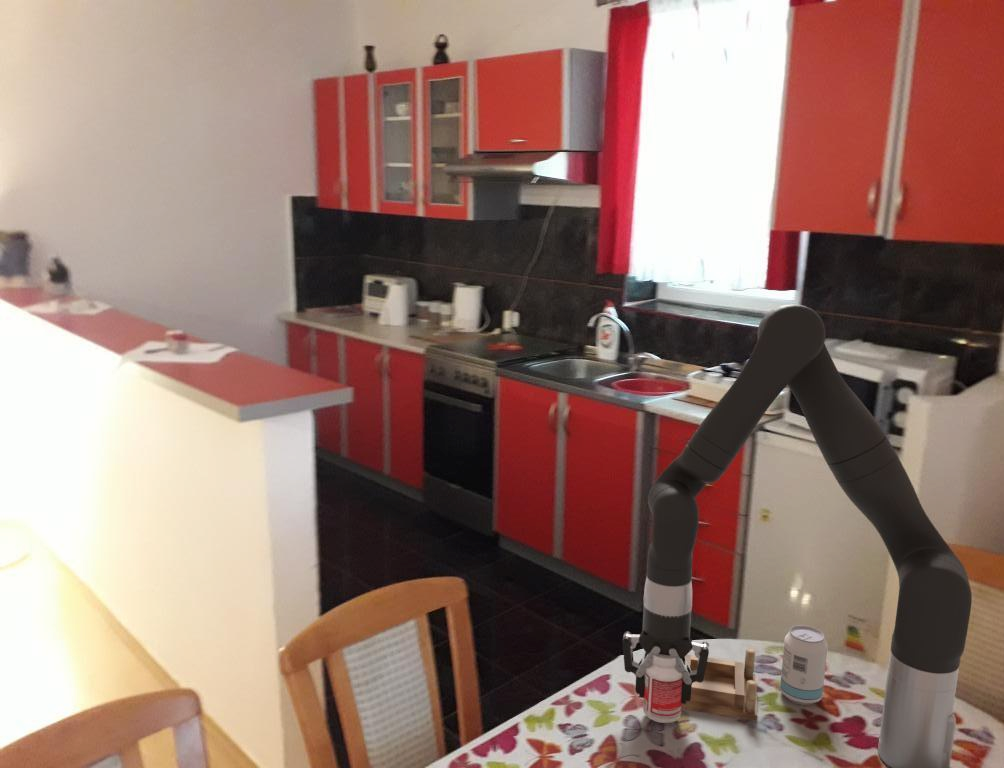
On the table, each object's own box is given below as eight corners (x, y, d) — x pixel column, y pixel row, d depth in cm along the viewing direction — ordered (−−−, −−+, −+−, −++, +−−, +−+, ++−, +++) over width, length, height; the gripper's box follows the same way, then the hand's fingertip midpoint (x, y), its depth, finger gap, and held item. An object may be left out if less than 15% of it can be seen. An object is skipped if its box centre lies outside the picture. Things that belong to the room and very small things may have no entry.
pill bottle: (688, 716, 135) (693, 655, 133) (661, 729, 131) (665, 665, 129) (661, 698, 140) (665, 638, 138) (634, 710, 137) (638, 648, 134)
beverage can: (830, 702, 141) (837, 638, 139) (801, 712, 138) (807, 647, 136) (799, 682, 147) (806, 620, 145) (770, 691, 144) (776, 628, 142)
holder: (754, 679, 148) (757, 648, 147) (756, 721, 136) (759, 687, 134) (669, 666, 152) (671, 636, 151) (664, 705, 139) (666, 673, 138)
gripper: (714, 598, 134) (708, 692, 137) (625, 588, 137) (621, 679, 141) (713, 620, 127) (707, 718, 130) (619, 608, 130) (615, 704, 134)
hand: (662, 697), depth 135 cm, fingers closed on pill bottle, 6 cm apart
